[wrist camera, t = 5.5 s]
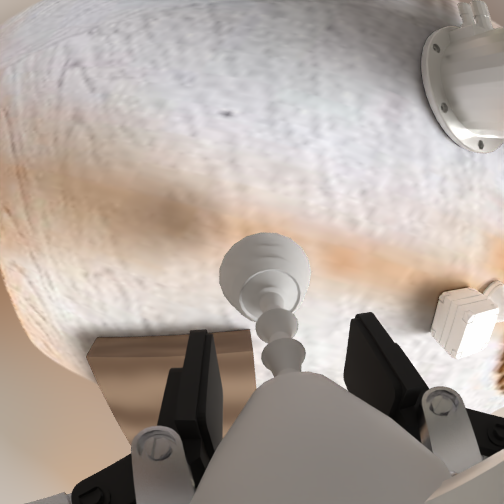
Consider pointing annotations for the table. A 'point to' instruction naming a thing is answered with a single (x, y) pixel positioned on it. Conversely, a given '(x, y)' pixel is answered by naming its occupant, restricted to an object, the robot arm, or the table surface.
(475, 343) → the container set
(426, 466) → the chalice
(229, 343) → the walnut plinth
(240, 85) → the table surface
